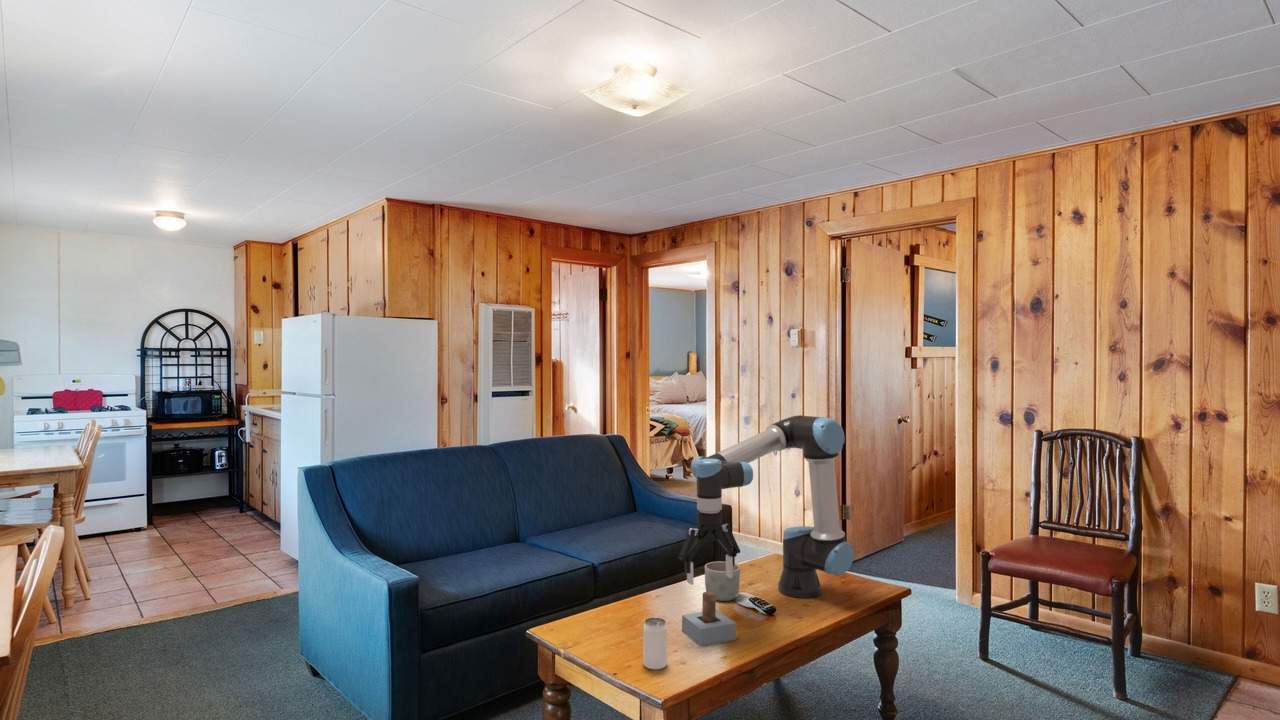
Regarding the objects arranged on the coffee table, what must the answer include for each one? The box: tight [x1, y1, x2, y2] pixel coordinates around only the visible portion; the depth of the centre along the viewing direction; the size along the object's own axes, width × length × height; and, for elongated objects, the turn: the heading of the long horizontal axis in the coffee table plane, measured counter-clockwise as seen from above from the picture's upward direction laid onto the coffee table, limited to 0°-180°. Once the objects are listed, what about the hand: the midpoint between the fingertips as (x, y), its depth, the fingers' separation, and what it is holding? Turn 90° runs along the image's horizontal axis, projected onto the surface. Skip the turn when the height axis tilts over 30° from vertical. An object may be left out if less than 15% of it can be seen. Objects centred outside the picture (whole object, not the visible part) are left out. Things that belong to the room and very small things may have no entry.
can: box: [642, 617, 668, 671], centre depth 188 cm, size 6×6×12 cm
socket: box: [681, 609, 737, 647], centre depth 208 cm, size 12×12×5 cm
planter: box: [704, 560, 741, 602], centre depth 242 cm, size 12×12×11 cm
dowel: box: [701, 591, 717, 624], centre depth 208 cm, size 4×4×12 cm
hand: (710, 580), depth 208 cm, fingers open, 13 cm apart
